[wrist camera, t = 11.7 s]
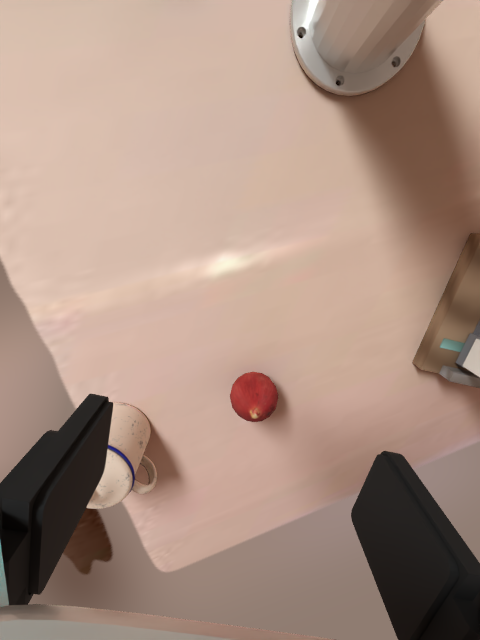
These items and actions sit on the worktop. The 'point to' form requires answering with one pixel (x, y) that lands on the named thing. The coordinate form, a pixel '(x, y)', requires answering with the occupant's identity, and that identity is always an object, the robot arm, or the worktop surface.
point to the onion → (254, 396)
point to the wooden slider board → (454, 320)
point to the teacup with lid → (124, 458)
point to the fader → (470, 354)
